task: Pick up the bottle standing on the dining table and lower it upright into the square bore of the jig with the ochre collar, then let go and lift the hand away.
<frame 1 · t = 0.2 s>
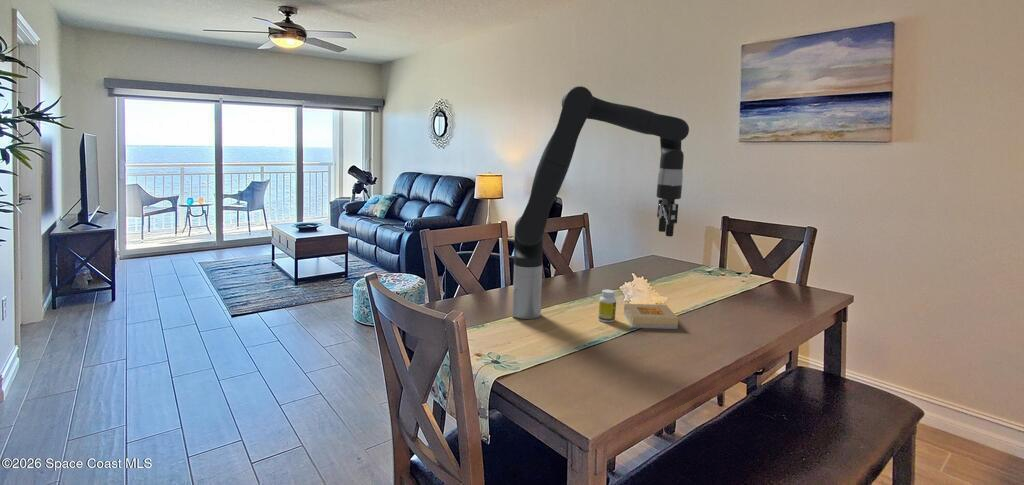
hand: (665, 233, 175), 28 cm above the table, fingers open, 8 cm apart
supplement bottle: (606, 320, 177), on the table
jig: (649, 321, 177), on the table
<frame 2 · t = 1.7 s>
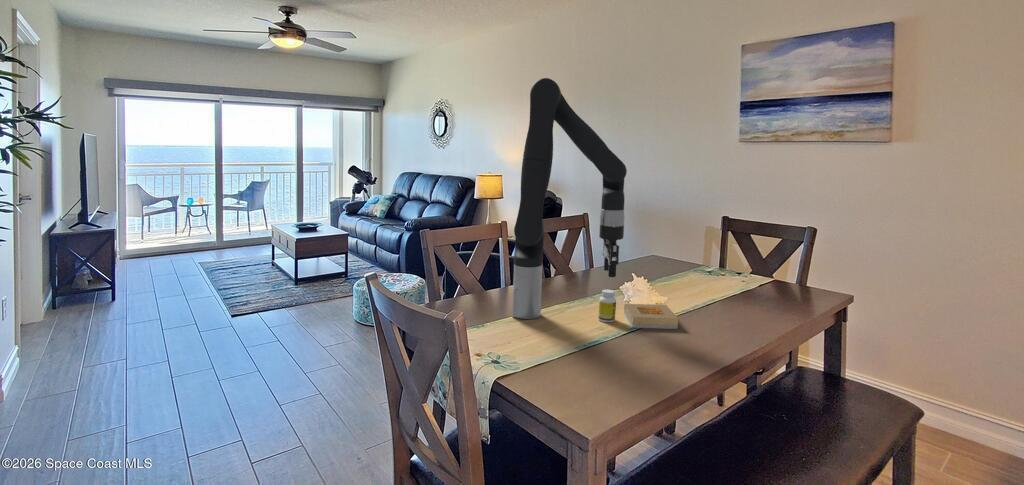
hand: (609, 273, 175), 16 cm above the table, fingers open, 8 cm apart
nothing on the table moved.
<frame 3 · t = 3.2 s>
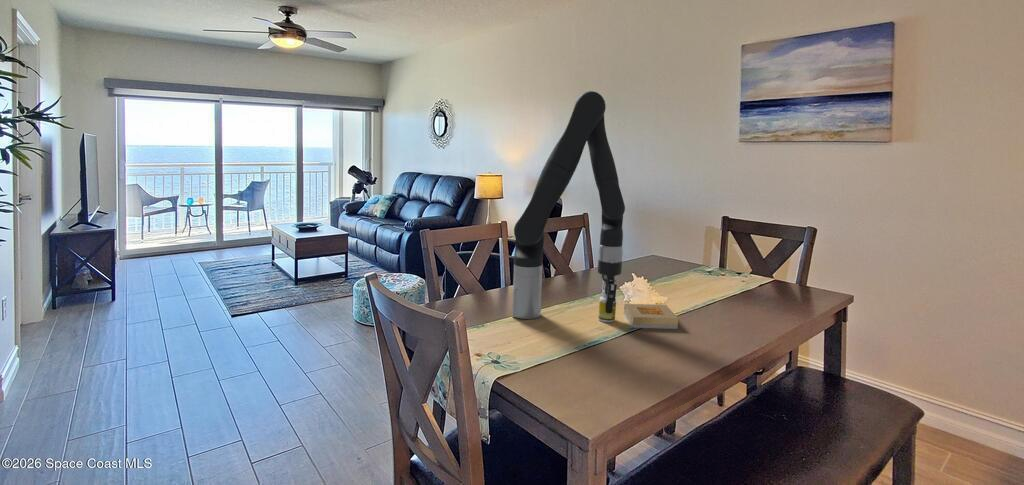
hand: (607, 309, 177), 4 cm above the table, fingers closed on supplement bottle, 5 cm apart
supplement bottle: (606, 320, 177), on the table, touching gripper
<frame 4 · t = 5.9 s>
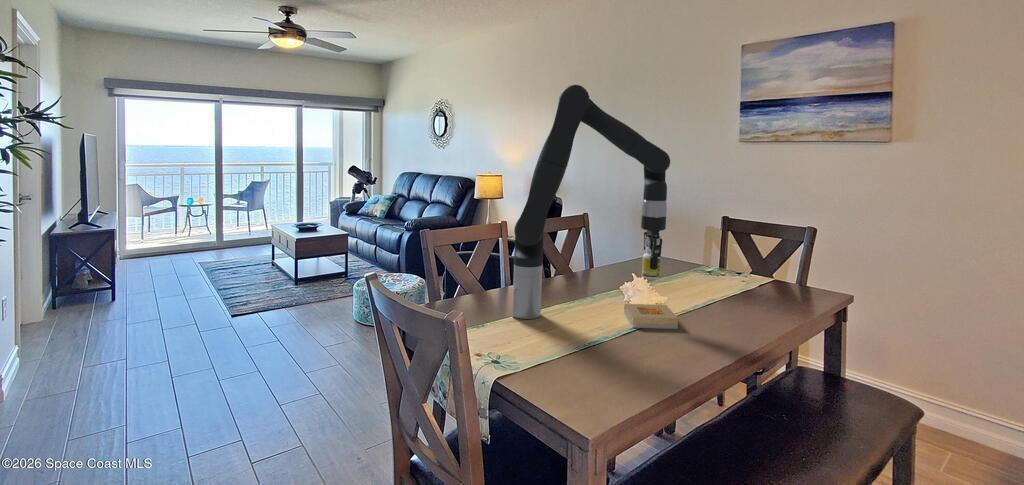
hand: (651, 266, 174), 18 cm above the table, fingers closed on supplement bottle, 5 cm apart
supplement bottle: (650, 278, 175), point 14 cm above the table, touching gripper
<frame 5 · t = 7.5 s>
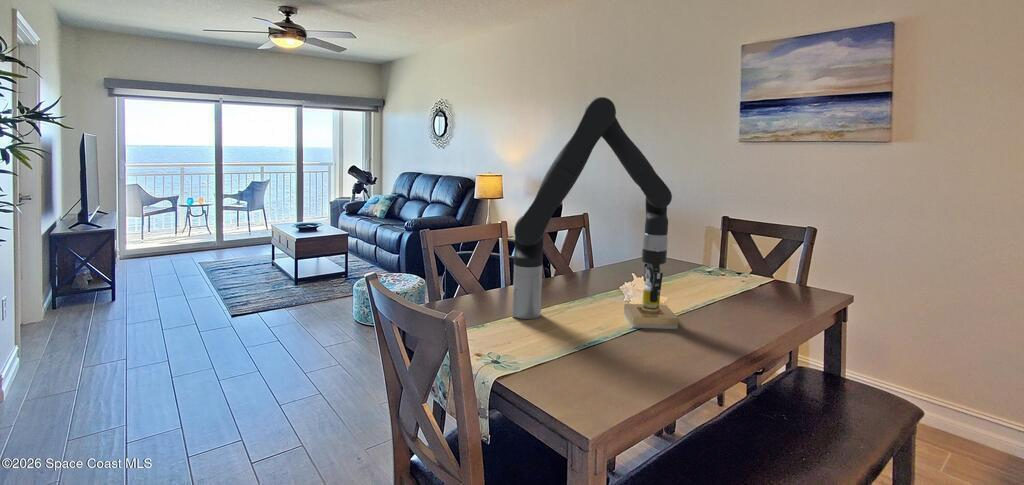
hand: (651, 298, 176), 7 cm above the table, fingers closed on supplement bottle, 5 cm apart
supplement bottle: (650, 309, 177), point 4 cm above the table, touching gripper
when the fingers open (5 cm above the table, at t = 8.5 s): supplement bottle stays where it is, resting on jig.
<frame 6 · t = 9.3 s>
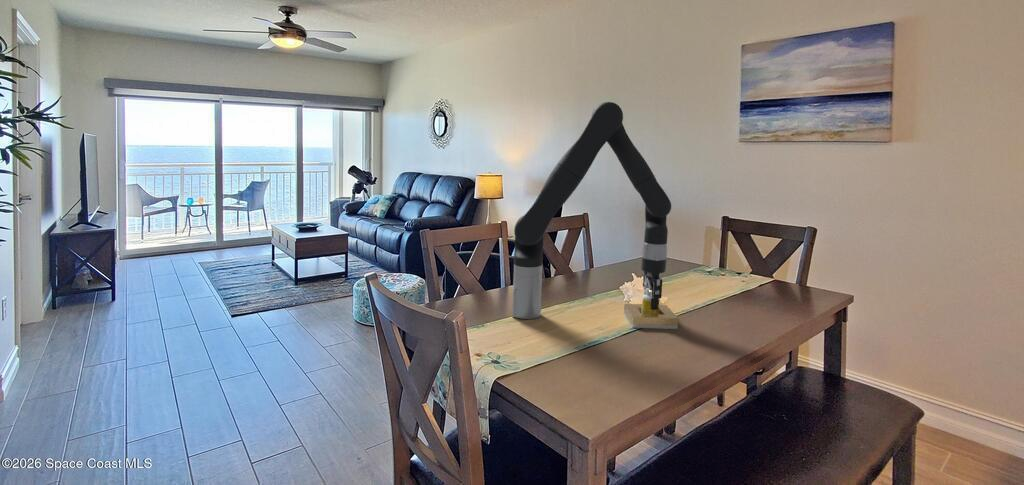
hand: (650, 305, 176), 5 cm above the table, fingers open, 8 cm apart
supplement bottle: (649, 318, 177), point 1 cm above the table, touching jig
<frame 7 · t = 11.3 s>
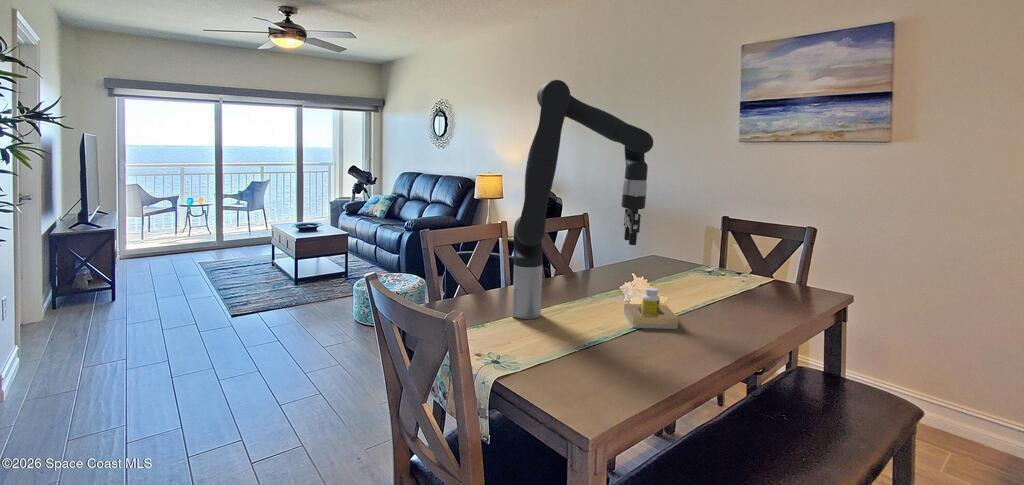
hand: (629, 242, 180), 24 cm above the table, fingers open, 8 cm apart
nothing on the table moved.
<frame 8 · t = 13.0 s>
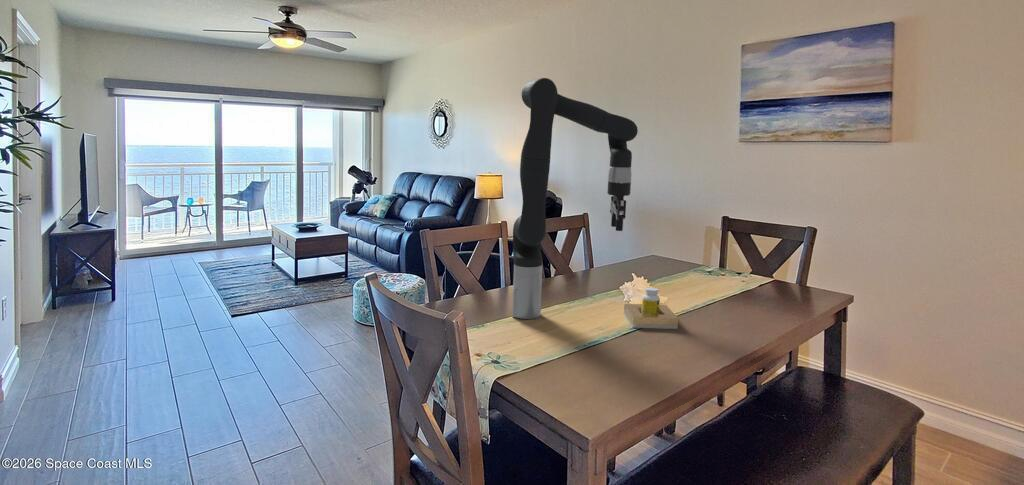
hand: (616, 228, 185), 28 cm above the table, fingers open, 8 cm apart
nothing on the table moved.
at the end: supplement bottle 0.1 cm off-centre on the jig, point 0.8 cm above the jig's base; supplement bottle tilted 0°; the gripper is holding nothing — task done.
